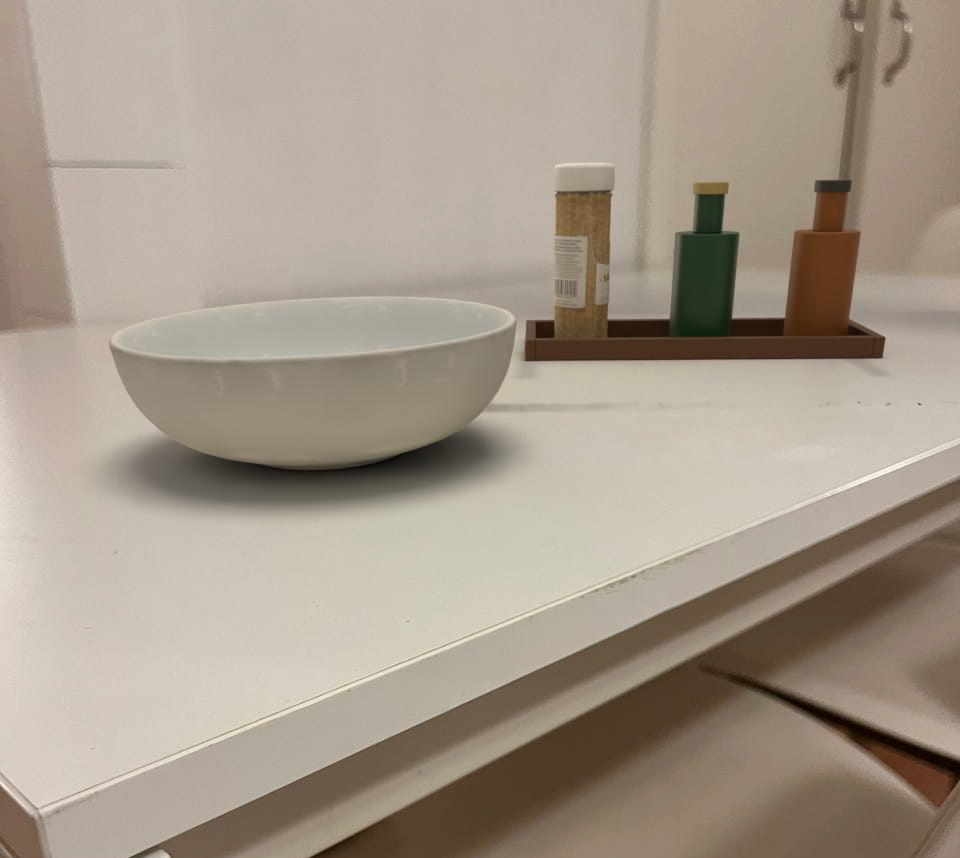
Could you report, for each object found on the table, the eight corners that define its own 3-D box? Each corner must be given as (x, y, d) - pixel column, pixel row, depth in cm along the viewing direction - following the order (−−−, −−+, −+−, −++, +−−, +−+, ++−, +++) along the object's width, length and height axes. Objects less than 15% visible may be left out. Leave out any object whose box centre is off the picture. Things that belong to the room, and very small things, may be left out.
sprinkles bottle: (619, 349, 80) (627, 162, 74) (568, 354, 78) (573, 162, 73) (589, 341, 84) (595, 162, 78) (541, 346, 82) (543, 163, 76)
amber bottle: (835, 341, 82) (857, 179, 77) (852, 351, 78) (876, 180, 72) (776, 341, 82) (793, 180, 77) (789, 351, 78) (808, 181, 73)
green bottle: (724, 342, 82) (737, 181, 77) (734, 352, 78) (749, 182, 73) (664, 342, 83) (674, 182, 78) (672, 352, 78) (682, 183, 73)
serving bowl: (230, 403, 67) (217, 294, 64) (542, 412, 63) (543, 296, 60) (48, 496, 49) (17, 349, 46) (472, 517, 45) (469, 358, 42)
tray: (842, 342, 85) (846, 316, 84) (881, 366, 75) (886, 336, 74) (526, 345, 86) (526, 319, 85) (524, 368, 77) (525, 339, 76)
